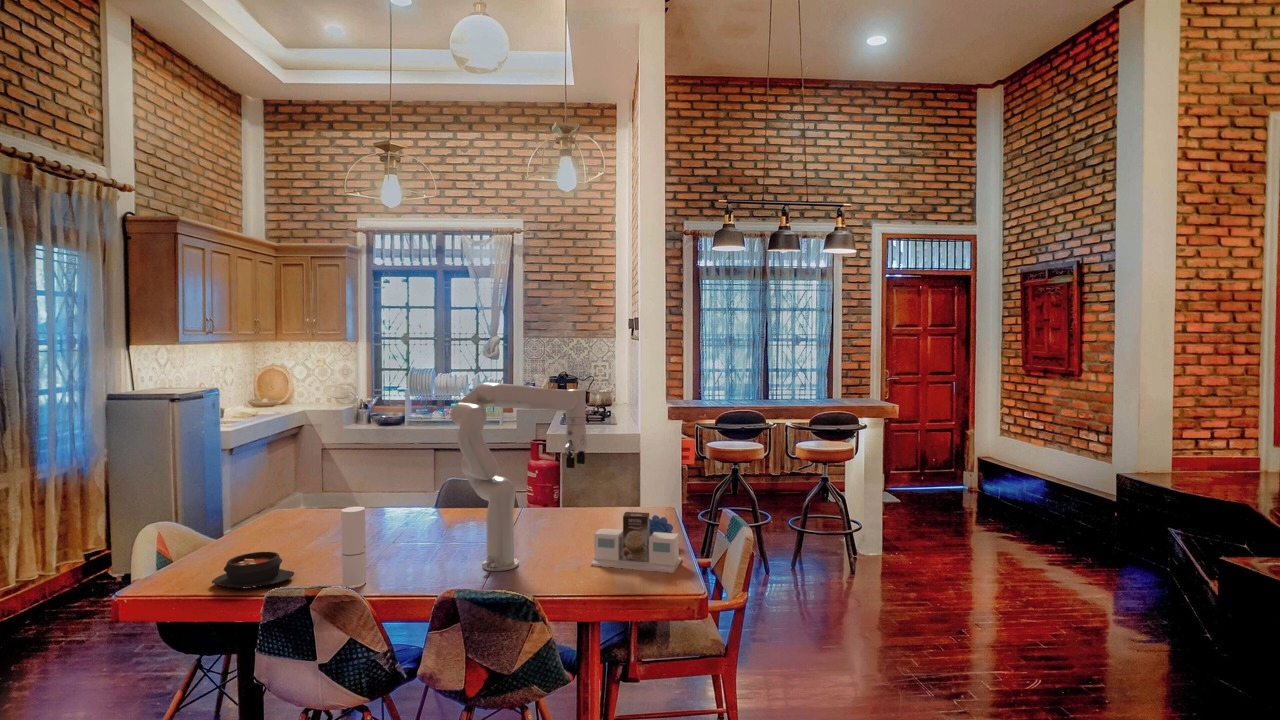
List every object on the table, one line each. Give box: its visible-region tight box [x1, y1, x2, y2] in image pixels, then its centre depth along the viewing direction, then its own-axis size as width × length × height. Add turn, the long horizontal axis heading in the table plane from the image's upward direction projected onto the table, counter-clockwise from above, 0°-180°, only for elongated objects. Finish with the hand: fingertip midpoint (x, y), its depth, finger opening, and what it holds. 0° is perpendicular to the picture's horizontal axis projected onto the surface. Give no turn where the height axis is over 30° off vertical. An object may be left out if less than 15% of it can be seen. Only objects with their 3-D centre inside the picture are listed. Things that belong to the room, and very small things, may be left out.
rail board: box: [590, 528, 683, 574], centre depth 239 cm, size 14×30×11 cm, turn 74°
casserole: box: [211, 551, 295, 589], centre depth 223 cm, size 25×19×8 cm
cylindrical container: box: [340, 506, 367, 587], centre depth 220 cm, size 7×7×25 cm
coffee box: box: [622, 511, 650, 562], centre depth 239 cm, size 9×6×16 cm
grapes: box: [649, 514, 674, 537], centre depth 259 cm, size 12×7×12 cm, turn 92°
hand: (575, 465), depth 257 cm, fingers open, 9 cm apart
